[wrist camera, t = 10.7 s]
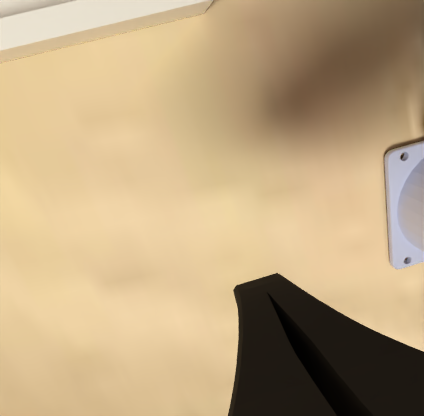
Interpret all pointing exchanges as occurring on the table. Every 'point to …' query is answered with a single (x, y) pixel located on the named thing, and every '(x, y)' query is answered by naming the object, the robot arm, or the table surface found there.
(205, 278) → the table surface
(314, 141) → the table surface
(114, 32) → the tray
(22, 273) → the table surface
